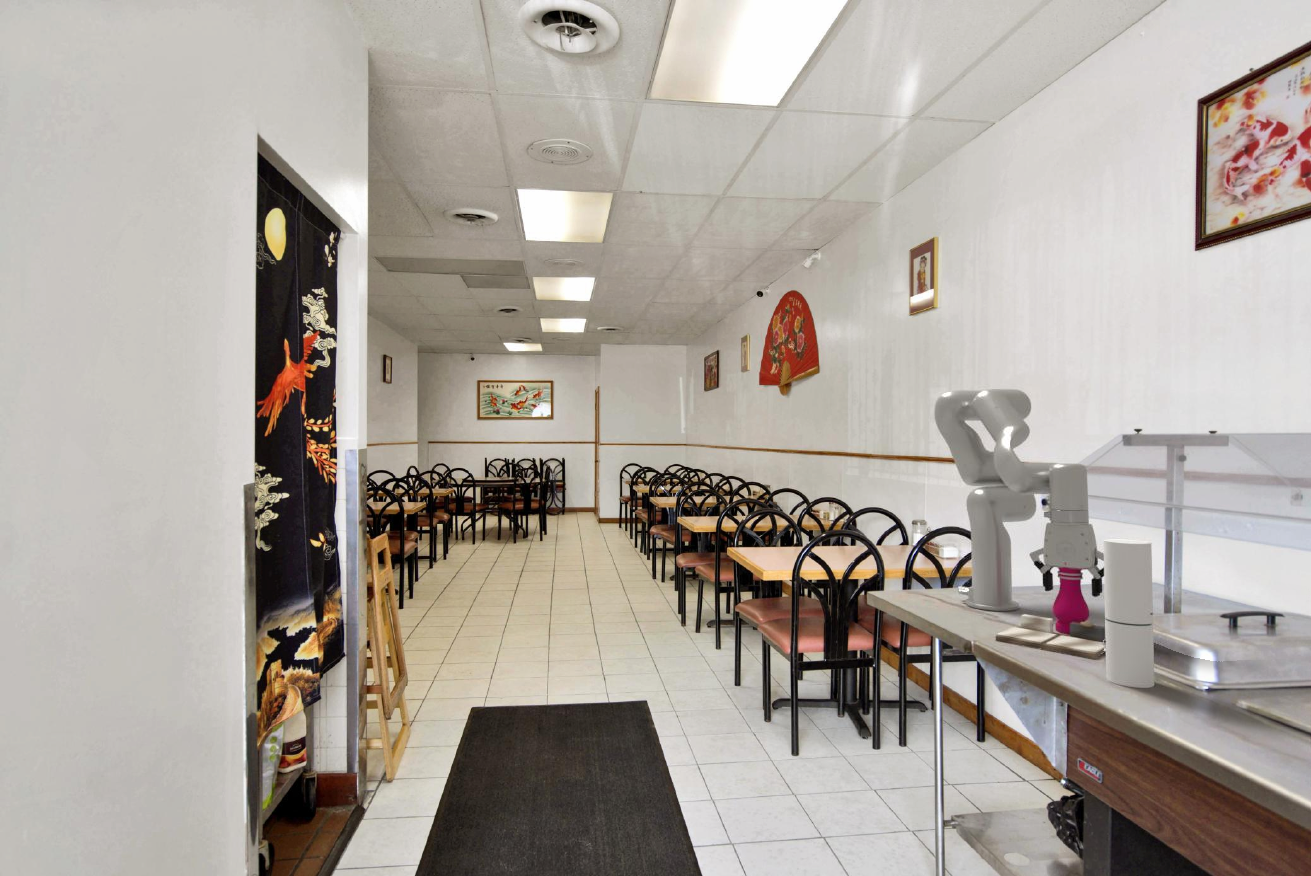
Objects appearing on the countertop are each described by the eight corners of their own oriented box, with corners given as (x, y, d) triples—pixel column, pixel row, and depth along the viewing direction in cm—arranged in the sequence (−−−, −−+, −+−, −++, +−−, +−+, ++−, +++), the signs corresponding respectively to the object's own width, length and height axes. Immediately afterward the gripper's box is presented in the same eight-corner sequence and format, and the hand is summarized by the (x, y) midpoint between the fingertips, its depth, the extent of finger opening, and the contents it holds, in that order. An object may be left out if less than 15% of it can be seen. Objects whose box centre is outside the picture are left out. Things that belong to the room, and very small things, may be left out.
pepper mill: (1096, 635, 156) (1095, 545, 156) (1064, 635, 156) (1062, 545, 156) (1077, 627, 163) (1076, 541, 163) (1046, 627, 163) (1044, 541, 163)
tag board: (995, 640, 152) (995, 620, 153) (1018, 630, 161) (1017, 611, 161) (1094, 659, 138) (1094, 636, 138) (1113, 647, 146) (1113, 626, 146)
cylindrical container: (1158, 681, 125) (1155, 541, 126) (1148, 690, 120) (1145, 544, 121) (1112, 672, 130) (1109, 537, 131) (1101, 680, 125) (1098, 541, 126)
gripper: (1022, 516, 164) (1025, 590, 163) (1107, 520, 151) (1110, 600, 150) (1035, 515, 169) (1037, 586, 168) (1118, 518, 156) (1121, 595, 155)
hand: (1072, 593), depth 159 cm, fingers open, 9 cm apart
